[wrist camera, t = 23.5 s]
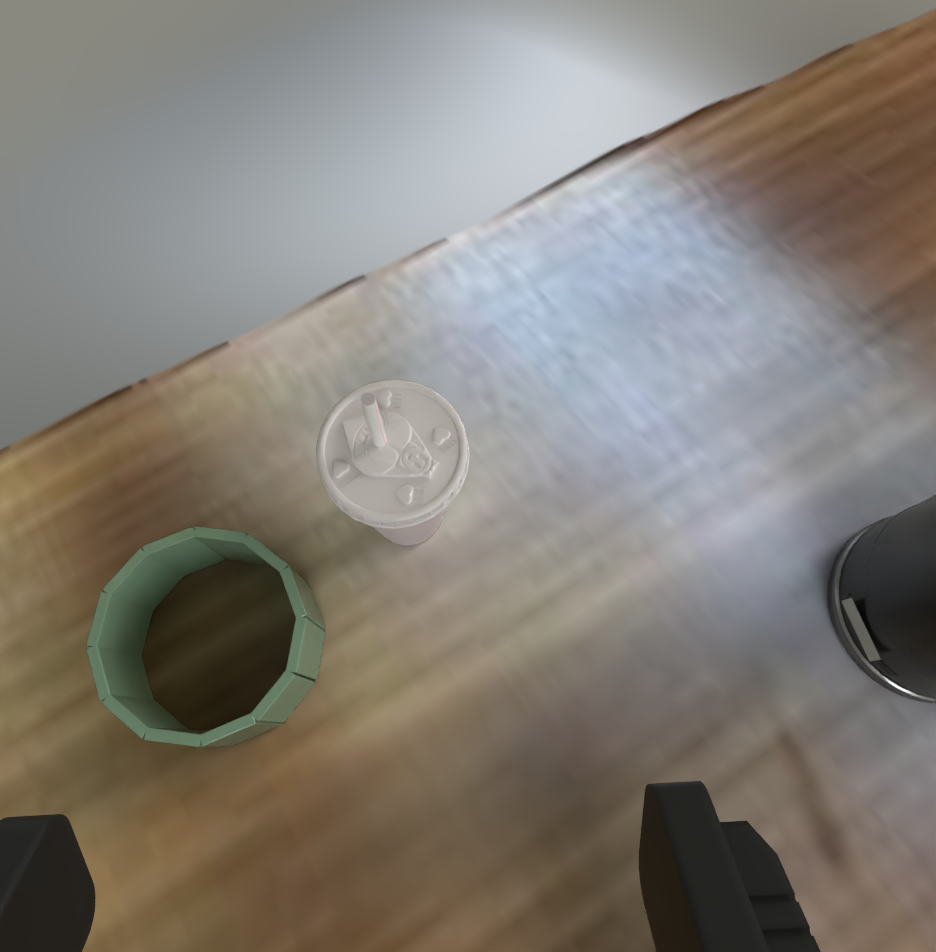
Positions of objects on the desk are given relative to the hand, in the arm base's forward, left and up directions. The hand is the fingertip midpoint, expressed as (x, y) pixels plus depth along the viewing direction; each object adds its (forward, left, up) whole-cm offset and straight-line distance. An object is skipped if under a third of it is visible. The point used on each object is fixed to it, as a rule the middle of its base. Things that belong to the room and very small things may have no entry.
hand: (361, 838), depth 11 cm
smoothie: (-4, -12, -28) cm, 31 cm away
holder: (+7, -9, -28) cm, 30 cm away
